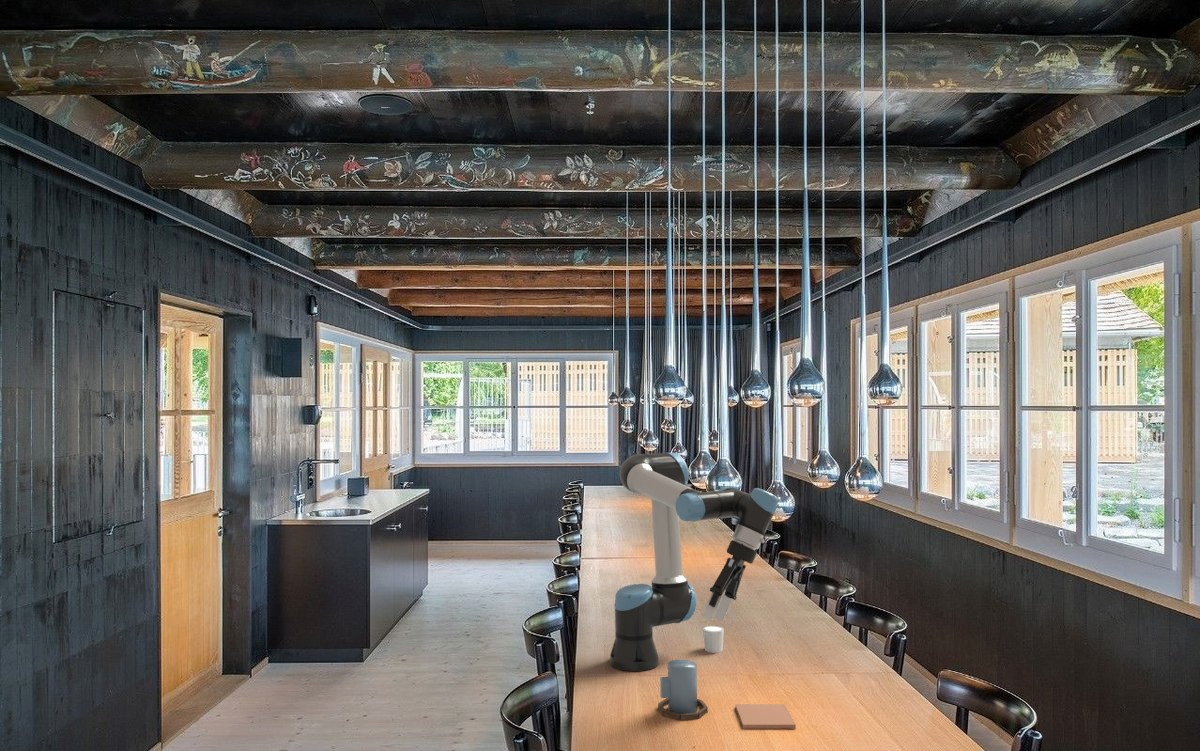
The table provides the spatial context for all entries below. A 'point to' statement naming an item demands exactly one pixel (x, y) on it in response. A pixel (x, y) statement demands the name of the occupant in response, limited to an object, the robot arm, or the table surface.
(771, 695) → the table surface
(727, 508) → the robot arm
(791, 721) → the terracotta tile
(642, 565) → the table surface
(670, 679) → the grey canister
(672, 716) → the walnut collar
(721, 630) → the white tapered cylinder
